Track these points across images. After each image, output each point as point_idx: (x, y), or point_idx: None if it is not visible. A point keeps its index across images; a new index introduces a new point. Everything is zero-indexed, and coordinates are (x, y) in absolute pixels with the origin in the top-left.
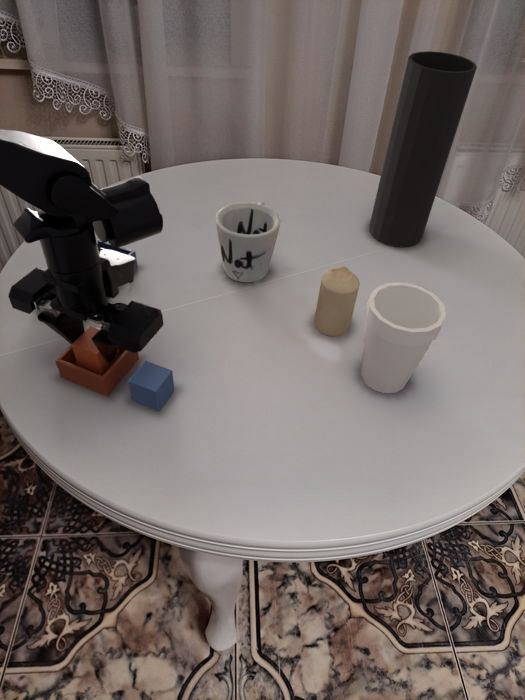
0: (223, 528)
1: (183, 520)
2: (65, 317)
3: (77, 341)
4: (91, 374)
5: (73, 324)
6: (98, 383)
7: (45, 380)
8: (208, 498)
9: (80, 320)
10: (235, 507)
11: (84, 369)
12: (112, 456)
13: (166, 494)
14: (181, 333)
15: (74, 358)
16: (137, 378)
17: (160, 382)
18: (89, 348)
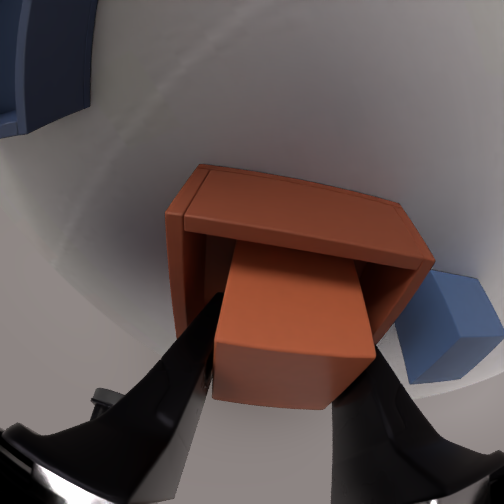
0: (469, 384)
1: (441, 392)
2: (168, 490)
3: (223, 393)
4: None
5: (184, 438)
6: None
7: (170, 312)
8: (468, 375)
9: (185, 418)
10: (485, 371)
11: None
12: None
13: (431, 386)
14: (495, 62)
15: (199, 291)
16: (431, 375)
17: (474, 365)
18: (285, 403)
